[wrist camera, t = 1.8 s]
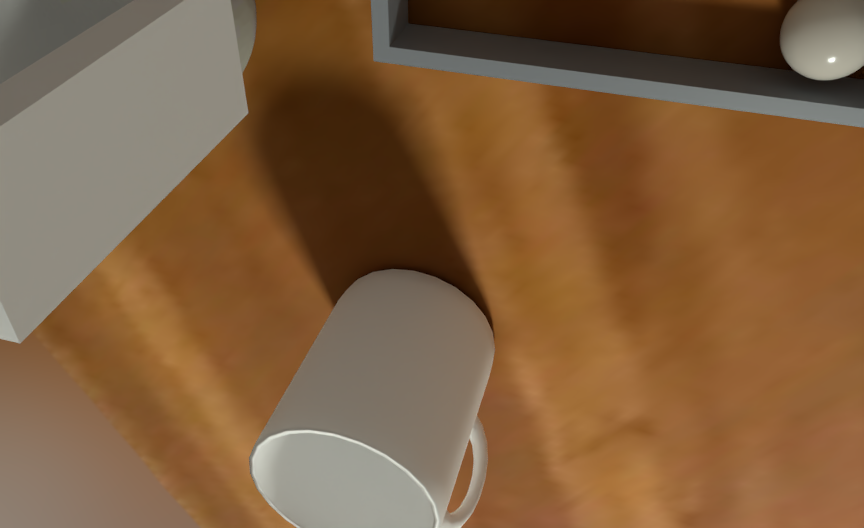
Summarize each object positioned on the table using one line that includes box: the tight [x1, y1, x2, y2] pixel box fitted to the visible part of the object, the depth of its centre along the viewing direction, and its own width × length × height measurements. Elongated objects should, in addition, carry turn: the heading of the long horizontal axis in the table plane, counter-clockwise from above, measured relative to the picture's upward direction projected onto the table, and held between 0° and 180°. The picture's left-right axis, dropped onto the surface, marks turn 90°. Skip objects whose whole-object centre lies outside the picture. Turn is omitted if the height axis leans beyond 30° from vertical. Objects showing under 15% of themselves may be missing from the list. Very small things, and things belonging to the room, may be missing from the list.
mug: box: [249, 269, 495, 528], centre depth 40 cm, size 10×12×12 cm
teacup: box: [0, 0, 256, 84], centre depth 33 cm, size 14×11×8 cm
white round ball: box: [780, 0, 864, 80], centre depth 27 cm, size 3×3×3 cm
